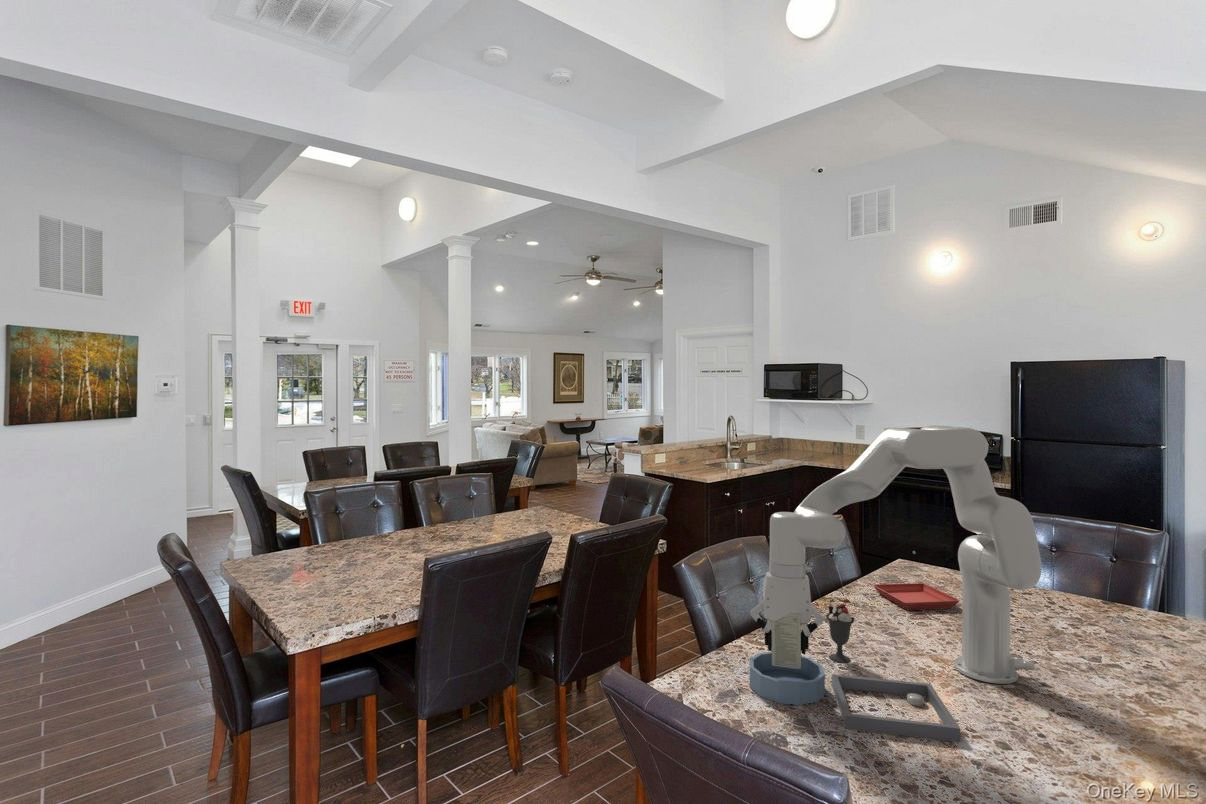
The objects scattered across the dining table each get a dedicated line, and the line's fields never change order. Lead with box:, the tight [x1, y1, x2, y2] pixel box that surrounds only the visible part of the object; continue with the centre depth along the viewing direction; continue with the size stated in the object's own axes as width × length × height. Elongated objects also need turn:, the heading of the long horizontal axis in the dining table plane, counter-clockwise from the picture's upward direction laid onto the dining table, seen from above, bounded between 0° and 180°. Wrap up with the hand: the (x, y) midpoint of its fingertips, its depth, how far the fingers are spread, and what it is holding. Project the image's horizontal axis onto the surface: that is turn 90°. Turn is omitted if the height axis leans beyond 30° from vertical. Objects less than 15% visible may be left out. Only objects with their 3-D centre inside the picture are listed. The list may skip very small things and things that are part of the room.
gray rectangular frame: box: [831, 673, 962, 743], centre depth 124 cm, size 20×18×2 cm
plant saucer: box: [873, 582, 961, 611], centre depth 191 cm, size 18×18×3 cm
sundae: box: [825, 598, 856, 664], centre depth 148 cm, size 7×7×15 cm
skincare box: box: [771, 613, 802, 669], centre depth 134 cm, size 6×4×12 cm
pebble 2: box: [906, 693, 925, 708], centre depth 127 cm, size 3×3×1 cm
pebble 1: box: [855, 711, 873, 716], centre depth 119 cm, size 3×3×1 cm
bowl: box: [749, 651, 826, 706], centre depth 134 cm, size 16×16×4 cm
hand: (786, 649), depth 134 cm, fingers closed on skincare box, 6 cm apart
